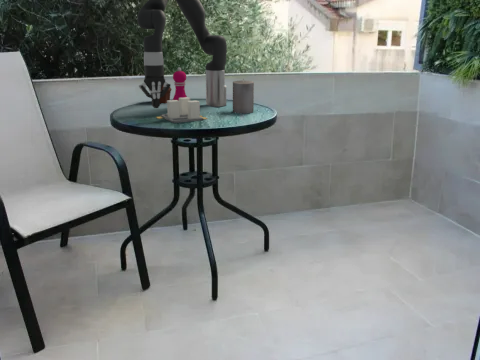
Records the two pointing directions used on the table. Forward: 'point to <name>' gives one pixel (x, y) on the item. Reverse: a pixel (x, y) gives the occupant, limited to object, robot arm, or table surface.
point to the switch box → (182, 118)
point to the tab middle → (173, 109)
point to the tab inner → (183, 105)
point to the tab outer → (193, 109)
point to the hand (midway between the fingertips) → (155, 107)
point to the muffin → (166, 96)
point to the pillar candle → (243, 96)
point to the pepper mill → (179, 84)
